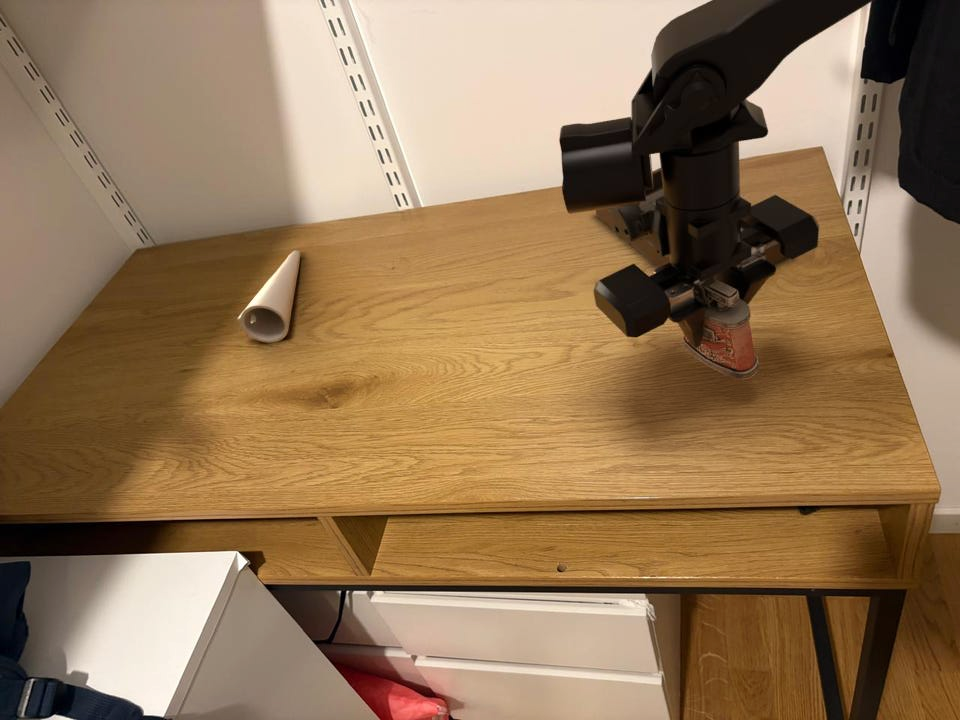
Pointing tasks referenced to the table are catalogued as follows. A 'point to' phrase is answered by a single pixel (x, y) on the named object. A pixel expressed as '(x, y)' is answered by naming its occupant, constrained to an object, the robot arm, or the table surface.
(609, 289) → the robot arm
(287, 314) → the long tapered cone
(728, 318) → the lighter
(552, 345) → the table surface
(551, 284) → the table surface
